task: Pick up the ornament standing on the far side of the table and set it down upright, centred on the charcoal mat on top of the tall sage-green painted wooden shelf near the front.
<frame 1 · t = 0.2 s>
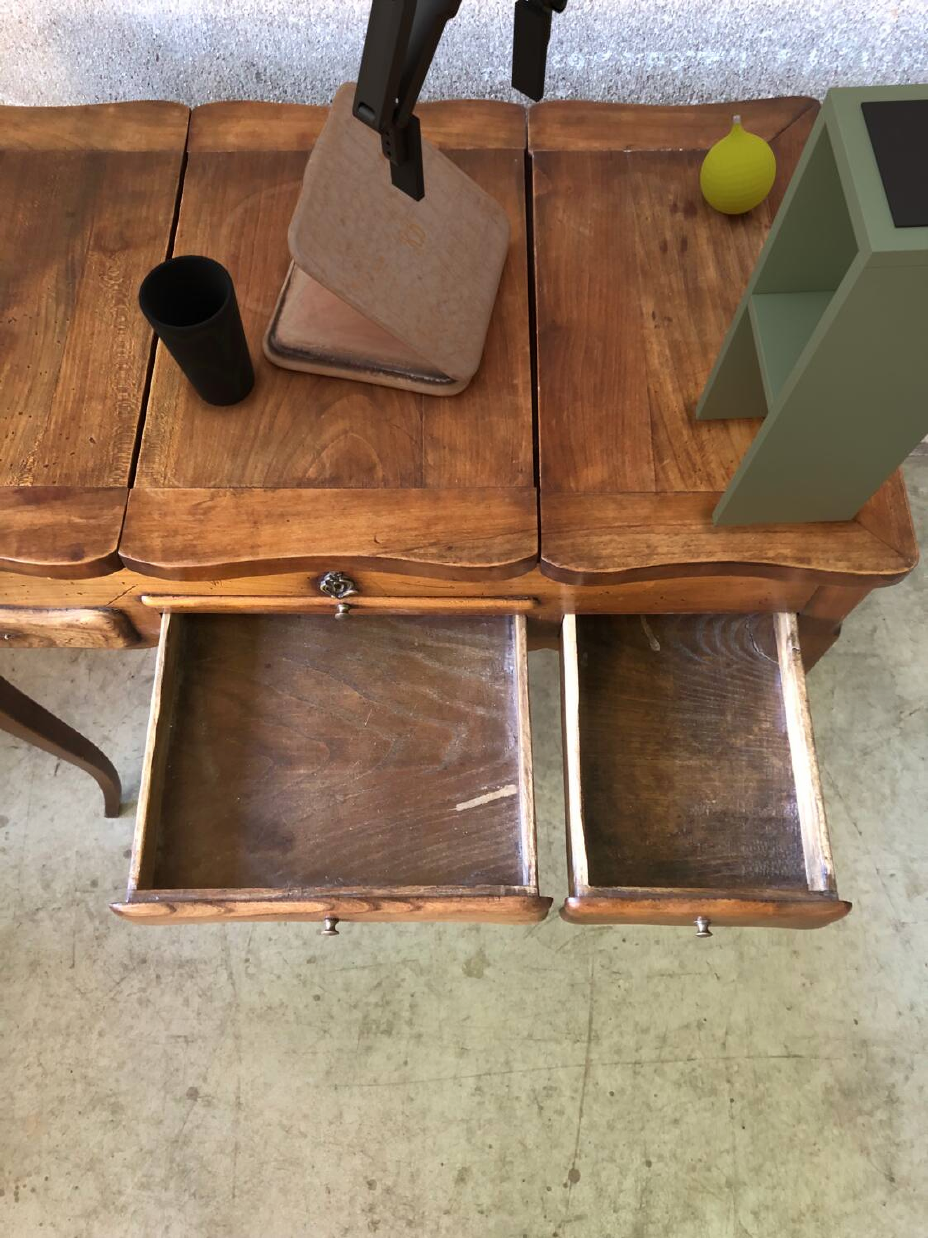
hand: (469, 140, 66), 19 cm above the table, tool pointing down, fingers open, 13 cm apart
ornament: (727, 204, 88), on the table
case: (389, 302, 84), on the table
shelf: (770, 463, 77), on the table
cup: (226, 382, 81), on the table
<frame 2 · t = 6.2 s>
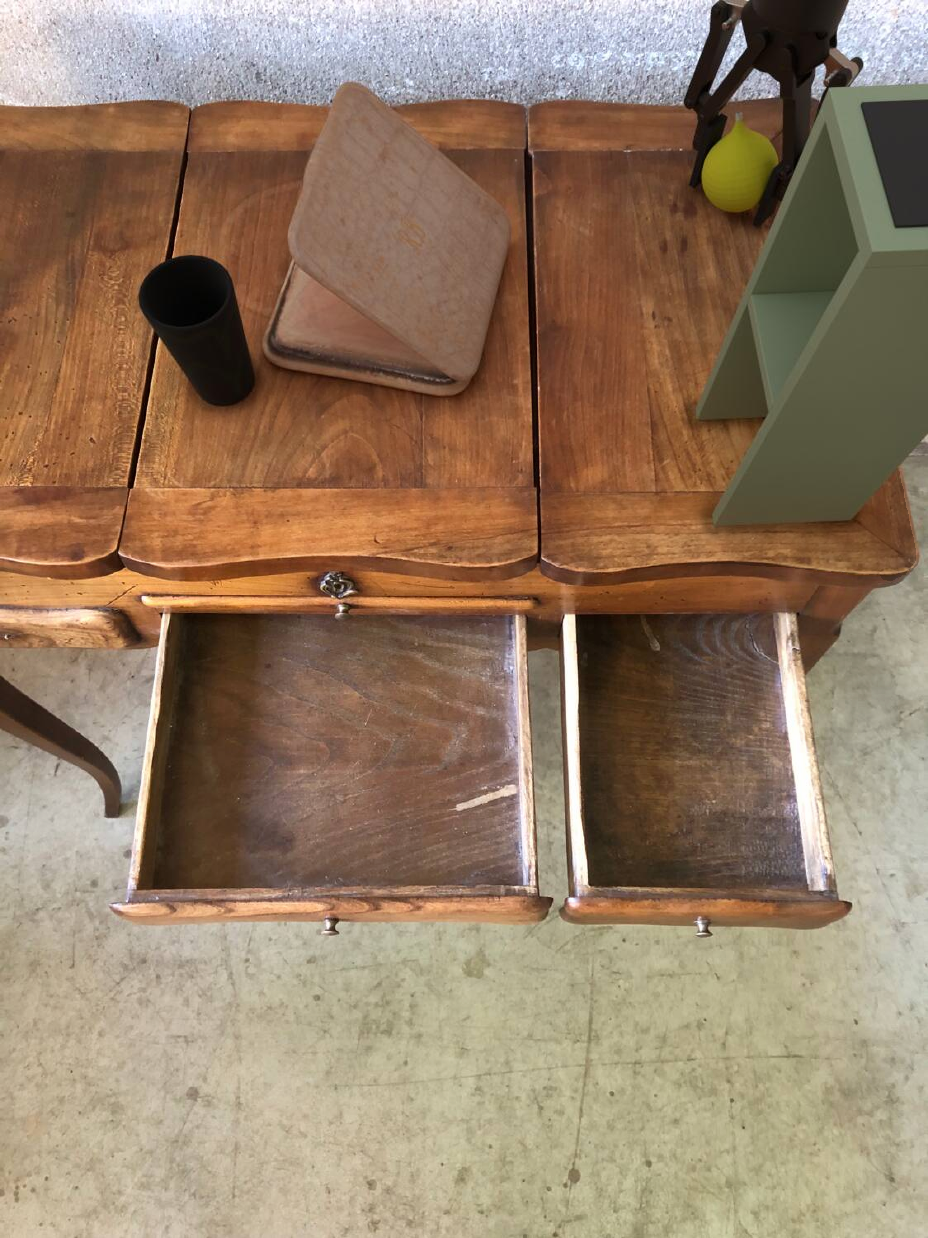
hand: (730, 198, 87), 1 cm above the table, tool pointing down, fingers closed on ornament, 7 cm apart
ornament: (728, 203, 88), on the table, touching gripper
everything else where it was.
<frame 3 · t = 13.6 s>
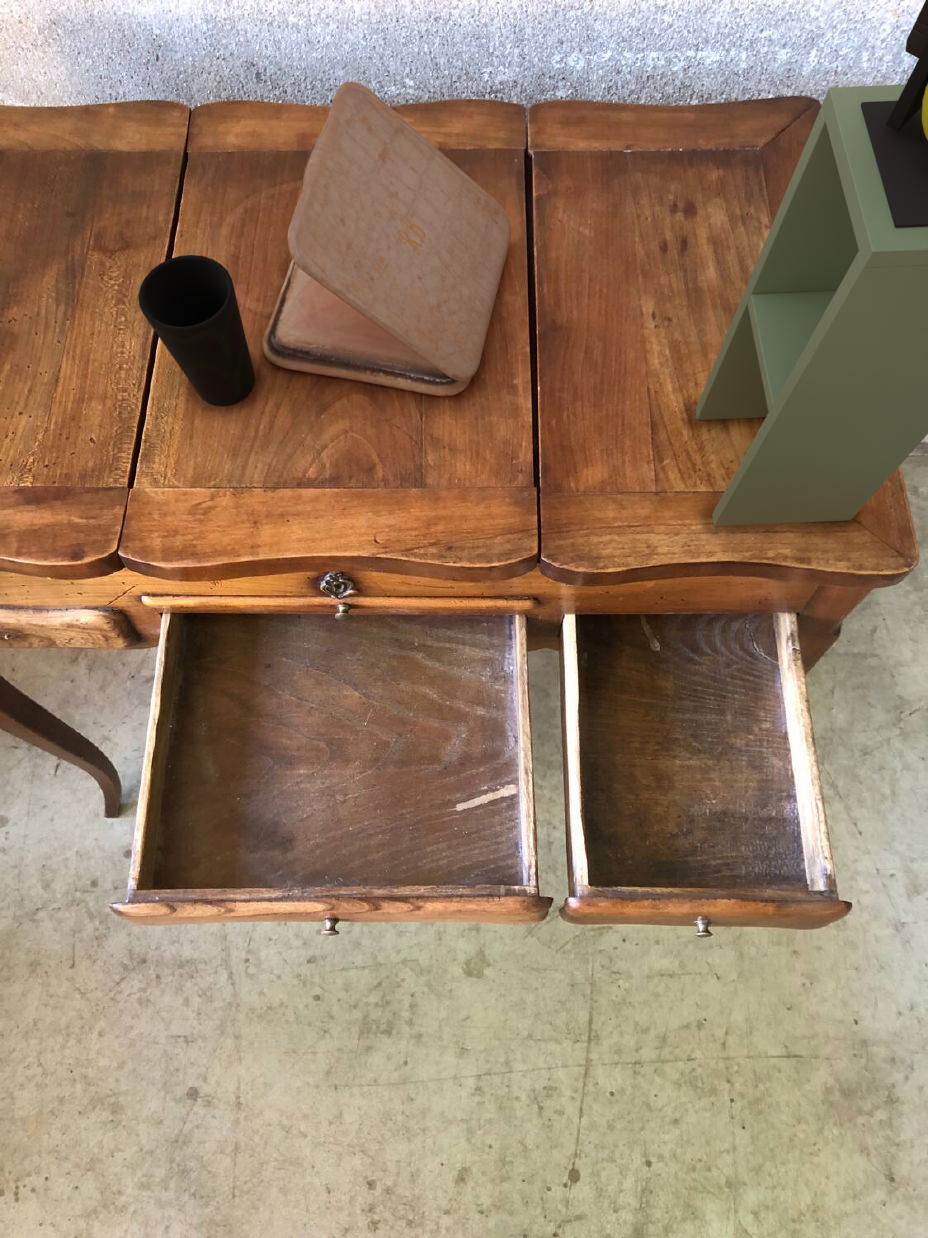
when the fingers open (33 cm above the table, at t = 17.4 s): ornament stays where it is, resting on shelf.
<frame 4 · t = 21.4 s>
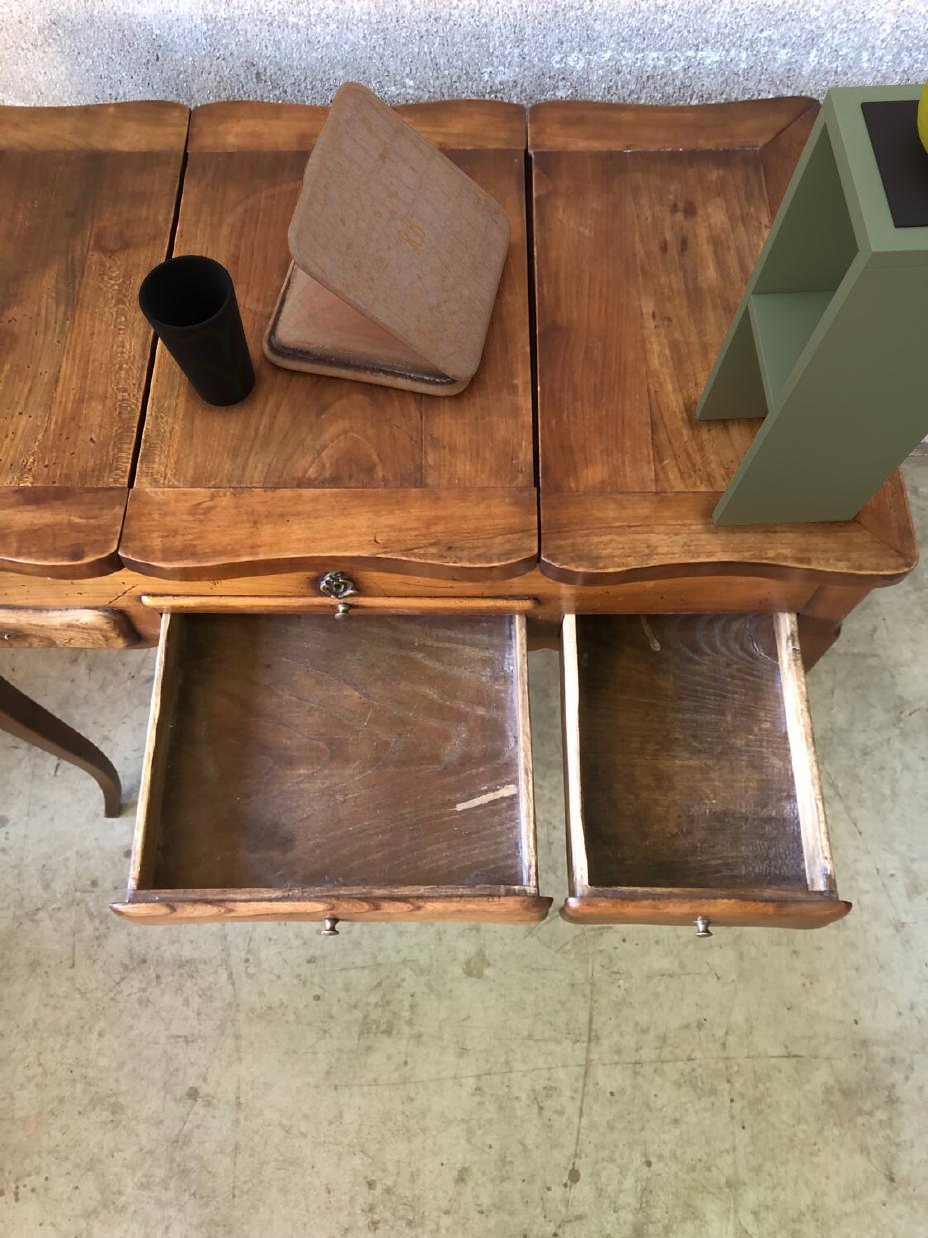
at the end: ornament inside the target area on the shelf (0.1 cm from its centre), point 32.0 cm above the shelf's base; ornament tilted 0°; the gripper is holding nothing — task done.
